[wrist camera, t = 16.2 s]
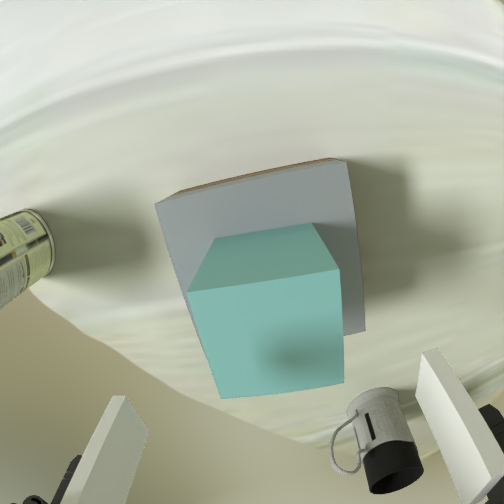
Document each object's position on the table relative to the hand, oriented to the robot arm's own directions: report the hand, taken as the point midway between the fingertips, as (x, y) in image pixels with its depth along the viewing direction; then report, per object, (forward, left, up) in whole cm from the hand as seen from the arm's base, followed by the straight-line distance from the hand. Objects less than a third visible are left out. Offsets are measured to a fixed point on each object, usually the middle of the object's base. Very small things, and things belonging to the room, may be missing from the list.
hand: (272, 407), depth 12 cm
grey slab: (0, 0, -19) cm, 19 cm away
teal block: (0, 0, -15) cm, 15 cm away
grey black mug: (+17, +24, -23) cm, 38 cm away
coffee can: (+14, -30, -23) cm, 40 cm away
